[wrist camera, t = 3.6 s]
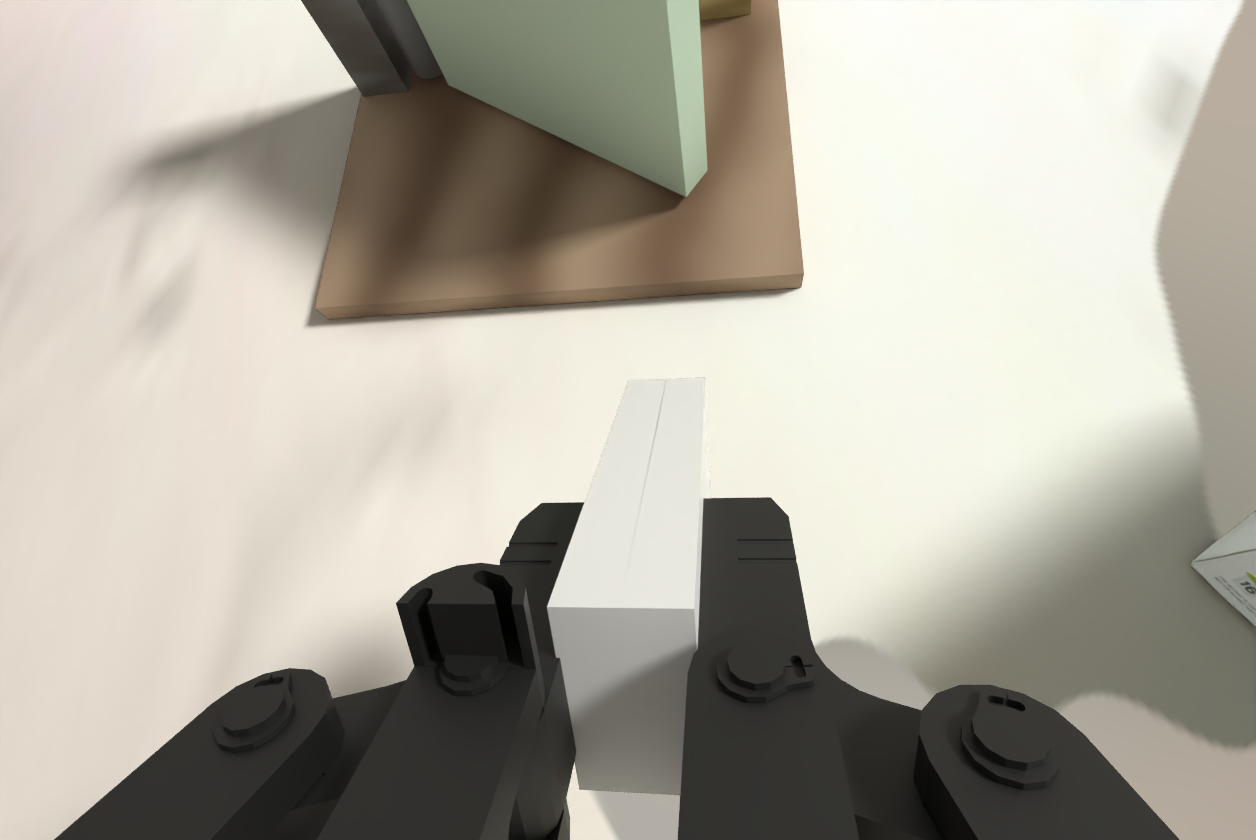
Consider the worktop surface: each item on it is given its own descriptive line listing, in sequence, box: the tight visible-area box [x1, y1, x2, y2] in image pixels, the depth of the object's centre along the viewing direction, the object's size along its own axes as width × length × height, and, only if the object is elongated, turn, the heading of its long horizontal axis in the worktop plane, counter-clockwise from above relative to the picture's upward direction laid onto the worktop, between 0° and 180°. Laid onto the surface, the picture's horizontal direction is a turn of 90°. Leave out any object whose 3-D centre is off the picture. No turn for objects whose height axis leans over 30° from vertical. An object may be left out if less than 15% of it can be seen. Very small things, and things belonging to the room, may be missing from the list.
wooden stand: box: [301, 0, 804, 319], centre depth 25 cm, size 21×18×13 cm
